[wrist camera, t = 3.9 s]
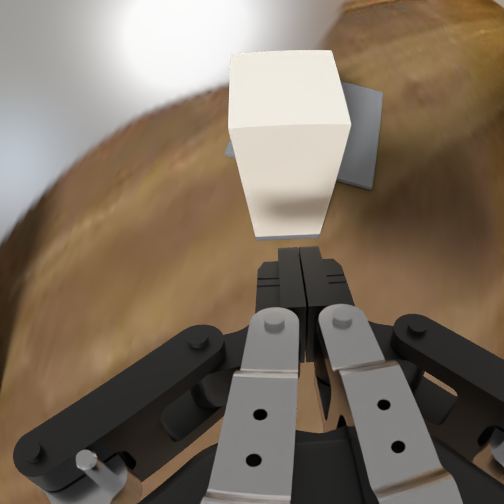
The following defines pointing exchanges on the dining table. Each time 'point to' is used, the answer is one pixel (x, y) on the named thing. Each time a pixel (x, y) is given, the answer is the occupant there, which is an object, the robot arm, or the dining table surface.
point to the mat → (357, 136)
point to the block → (287, 137)
